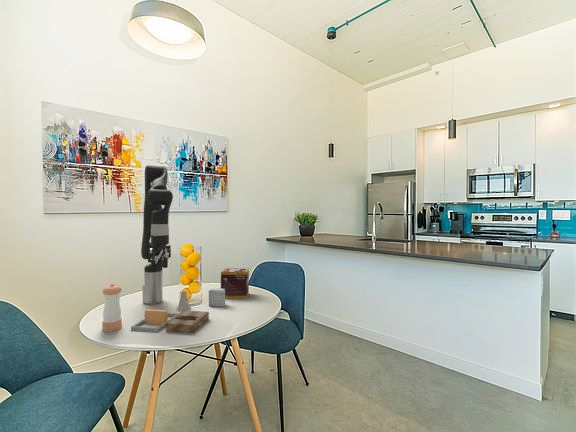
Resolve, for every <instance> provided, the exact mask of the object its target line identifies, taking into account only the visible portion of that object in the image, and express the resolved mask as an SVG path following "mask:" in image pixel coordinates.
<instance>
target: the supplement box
mask: <svg viewBox="0 0 576 432" xmlns="http://www.w3.org/2000/svg"><path fill="white" fill-rule="evenodd" d="M249 271H250V269H249V268H224V269H223V270H221V272H220V289H225V299H247V298H248V296H249V292H250V291H249V287H250V283H249V282H250V281H249V277H250V272H249Z"/></svg>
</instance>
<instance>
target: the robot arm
mask: <svg viewBox="0 0 576 432" xmlns="http://www.w3.org/2000/svg"><path fill="white" fill-rule="evenodd" d="M144 168H145V169H144V202H143V217H142V218H143V219H142V220H143V226H142V228H143V229H142V239H141V248H140V249H141V250H140V255H141V258H142V259H143V260H147V263H149V264H146V265H145V266H144V267H143V268H144V269H143V270H144V272H143V273H144V277H143V278H144V280H143V281H144V282H143V283H144V284H143V285H142V303H144V304H146V305H152V304H153V305H154V304H155V305H156V304H159V303H162V302H163V297H164V296H163V269H167V268H168V267H169V266H168V265H169V260H170V259H171V258H172V253H171V251H172V250H171V247H172V246H171V244H170V227H169V215H170V209H171V205H172V202H173V198H174V194H173V192H172V191H171V190H170V189H168V186H167V185H168V175H169V174H168V169H167V167H165V166H162V165H152V164H147V165H146V166H145V167H144Z"/></svg>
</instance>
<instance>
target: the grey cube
mask: <svg viewBox="0 0 576 432" xmlns="http://www.w3.org/2000/svg"><path fill="white" fill-rule="evenodd" d="M225 304H226V298H225V289H221V288H214V287H213V288H210V289H208V307H224V306H225Z"/></svg>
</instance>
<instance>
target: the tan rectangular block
mask: <svg viewBox="0 0 576 432" xmlns="http://www.w3.org/2000/svg"><path fill="white" fill-rule="evenodd" d="M143 313H144V318H143V319H144V324H157V325H162V324H163V323H165V322H166V321H168V317H167V313H168V310H165V309H149V308H146V309H144V312H143Z"/></svg>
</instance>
